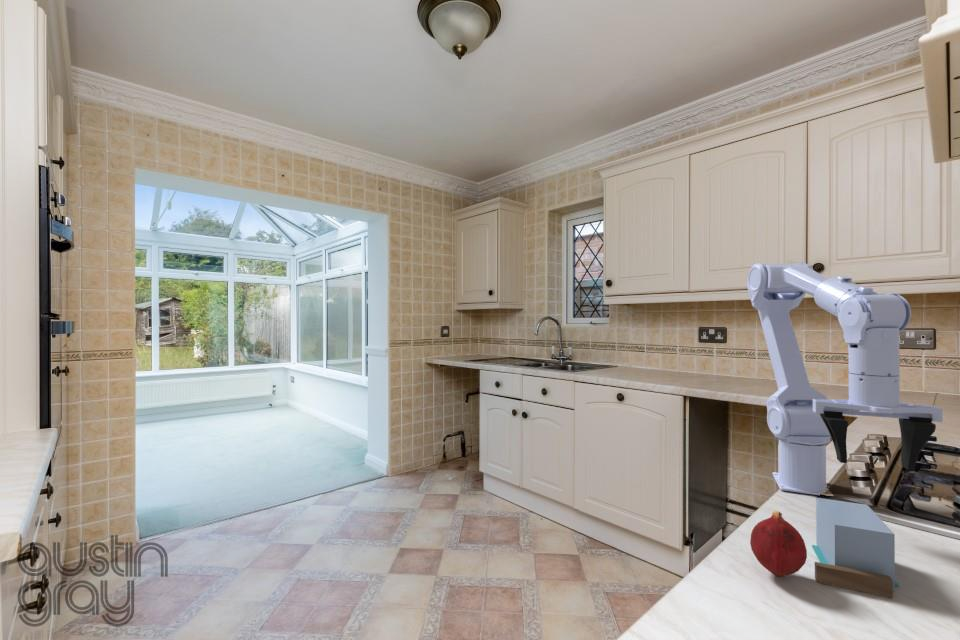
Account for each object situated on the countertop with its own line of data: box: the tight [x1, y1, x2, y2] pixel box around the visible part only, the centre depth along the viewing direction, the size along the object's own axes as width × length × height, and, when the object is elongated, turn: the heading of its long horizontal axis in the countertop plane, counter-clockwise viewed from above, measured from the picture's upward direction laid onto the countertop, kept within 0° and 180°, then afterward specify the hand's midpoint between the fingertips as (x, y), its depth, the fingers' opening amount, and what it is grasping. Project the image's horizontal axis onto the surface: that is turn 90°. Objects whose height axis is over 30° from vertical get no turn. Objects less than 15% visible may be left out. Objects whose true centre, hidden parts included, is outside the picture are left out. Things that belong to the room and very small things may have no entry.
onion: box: [749, 509, 808, 578], centre depth 54 cm, size 6×6×8 cm
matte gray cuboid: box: [815, 497, 896, 591], centre depth 57 cm, size 9×6×7 cm, turn 154°
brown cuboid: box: [814, 561, 894, 599], centre depth 52 cm, size 1×7×2 cm, turn 64°
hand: (874, 464), depth 66 cm, fingers open, 7 cm apart
